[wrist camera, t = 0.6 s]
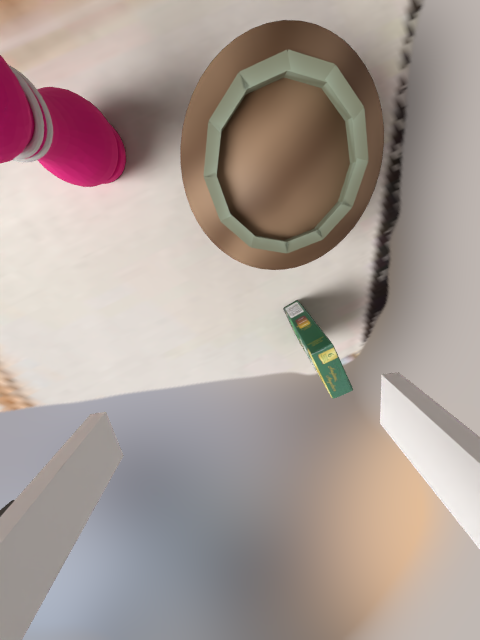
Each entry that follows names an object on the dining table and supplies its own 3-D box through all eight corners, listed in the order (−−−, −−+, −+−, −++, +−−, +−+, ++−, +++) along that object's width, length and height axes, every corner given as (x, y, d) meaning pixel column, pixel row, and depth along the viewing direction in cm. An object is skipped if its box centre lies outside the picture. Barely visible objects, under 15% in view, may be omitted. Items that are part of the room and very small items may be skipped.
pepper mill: (91, 90, 24) (-290, -246, 6) (145, 160, 27) (2, 82, 9) (45, 140, 25) (-373, -5, 7) (101, 202, 28) (-97, 205, 10)
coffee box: (280, 306, 37) (310, 355, 25) (297, 297, 36) (335, 344, 25) (298, 343, 40) (332, 401, 29) (314, 335, 40) (355, 392, 28)
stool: (163, 189, 28) (135, 183, 18) (257, 36, 23) (287, -85, 13) (266, 275, 34) (286, 305, 24) (358, 169, 29) (431, 154, 19)
